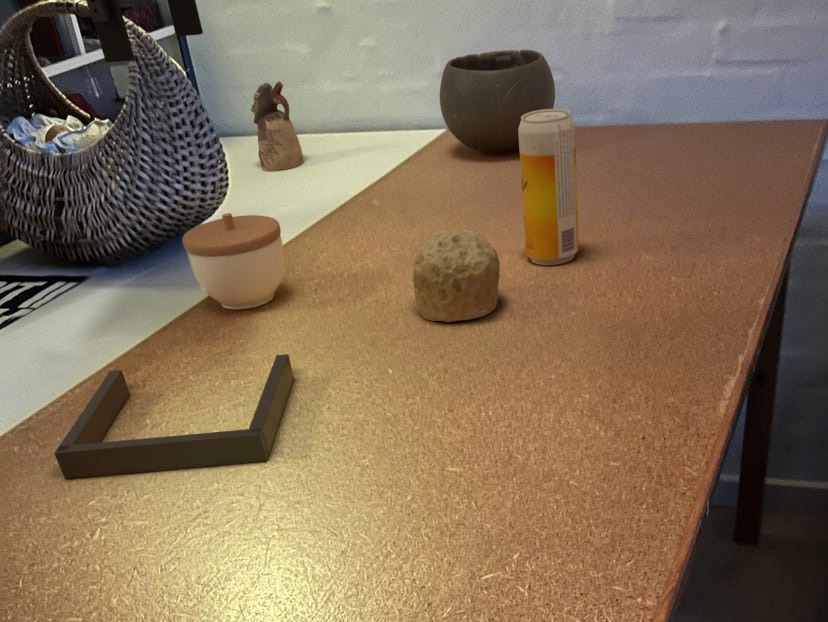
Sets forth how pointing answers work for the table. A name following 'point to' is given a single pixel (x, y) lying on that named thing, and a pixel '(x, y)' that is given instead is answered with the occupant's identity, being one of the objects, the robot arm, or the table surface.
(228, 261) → the trinket box
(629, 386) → the table surface
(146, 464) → the frame
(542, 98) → the bowl
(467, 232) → the coral
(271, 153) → the figurine
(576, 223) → the beer can
